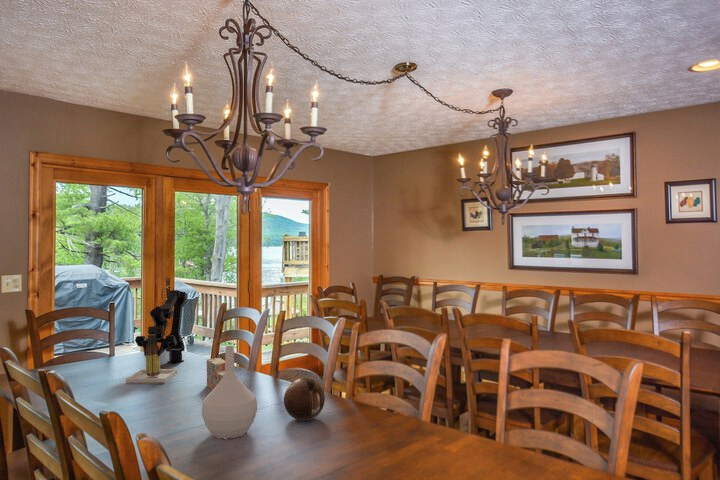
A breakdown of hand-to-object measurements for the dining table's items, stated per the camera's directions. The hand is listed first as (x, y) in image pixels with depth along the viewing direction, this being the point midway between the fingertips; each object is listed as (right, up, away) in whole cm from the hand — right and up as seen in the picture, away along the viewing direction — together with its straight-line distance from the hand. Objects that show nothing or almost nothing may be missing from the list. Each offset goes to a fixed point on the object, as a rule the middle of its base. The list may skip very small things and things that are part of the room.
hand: (151, 355), depth 239 cm
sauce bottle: (0, -10, +1) cm, 10 cm away
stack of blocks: (+39, -11, -19) cm, 44 cm away
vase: (+56, -10, -71) cm, 91 cm away
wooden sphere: (+80, -10, -57) cm, 99 cm away
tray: (0, -11, +1) cm, 11 cm away
